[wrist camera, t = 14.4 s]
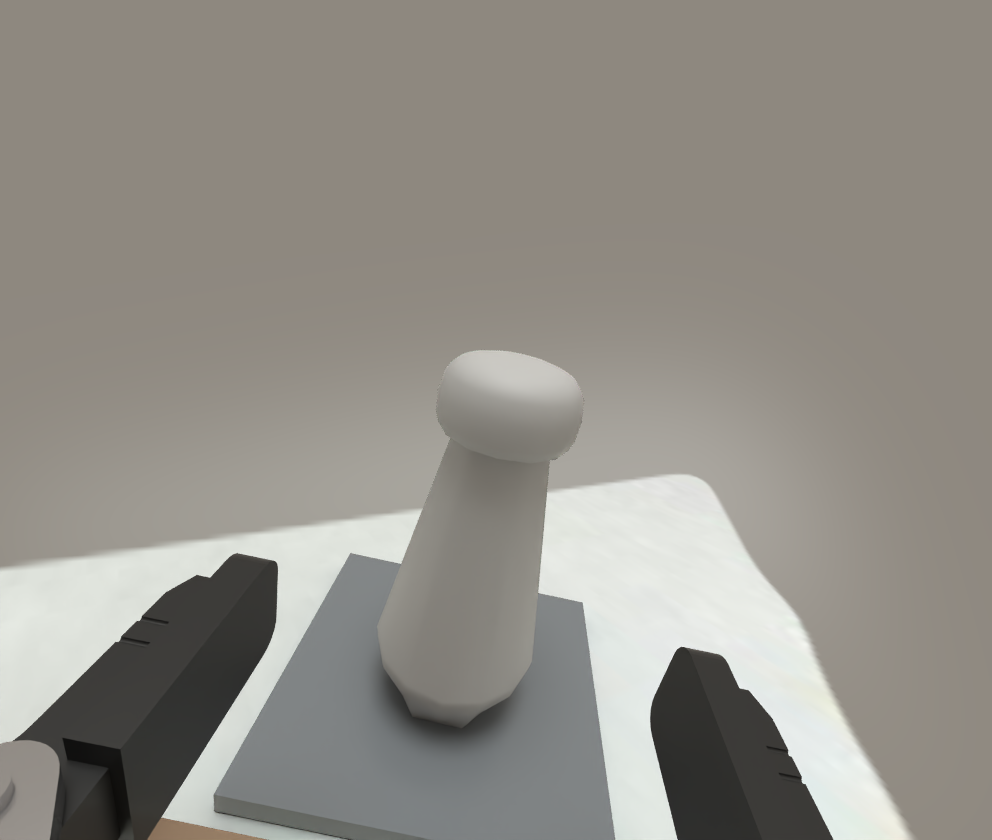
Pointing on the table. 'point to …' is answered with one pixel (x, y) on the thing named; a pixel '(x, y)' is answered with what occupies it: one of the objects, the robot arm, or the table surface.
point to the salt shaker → (479, 537)
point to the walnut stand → (192, 832)
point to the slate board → (422, 738)
